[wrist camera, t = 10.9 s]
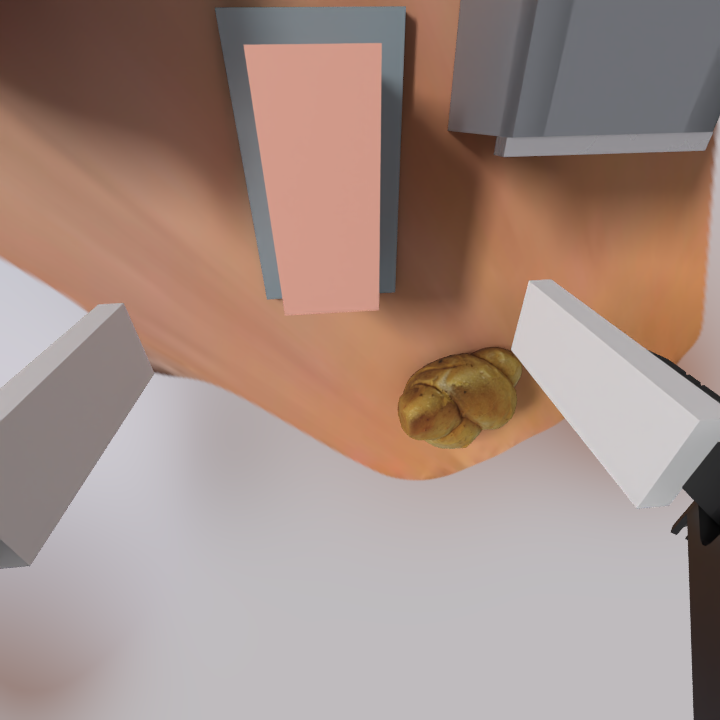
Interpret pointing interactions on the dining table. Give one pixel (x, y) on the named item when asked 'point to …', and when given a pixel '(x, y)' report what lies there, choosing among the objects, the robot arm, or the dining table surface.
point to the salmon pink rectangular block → (321, 169)
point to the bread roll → (460, 397)
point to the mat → (317, 29)
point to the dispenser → (587, 75)
